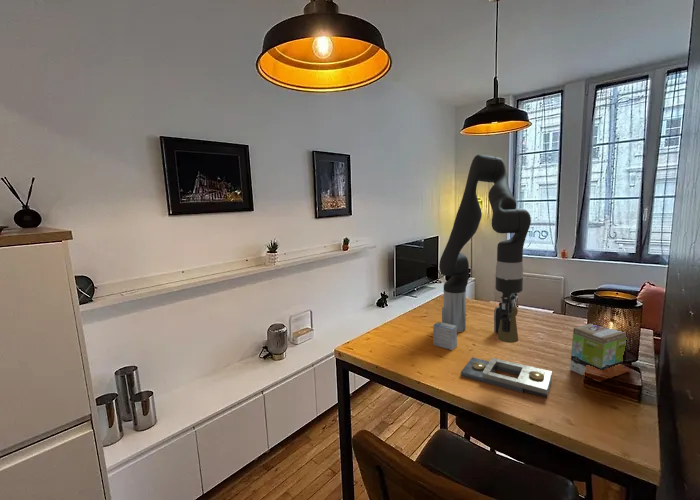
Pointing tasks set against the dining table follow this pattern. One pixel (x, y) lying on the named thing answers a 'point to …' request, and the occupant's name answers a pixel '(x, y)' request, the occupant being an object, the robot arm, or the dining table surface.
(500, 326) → the cork
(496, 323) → the battery charger
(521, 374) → the upper link plate
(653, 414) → the dining table surface
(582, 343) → the tea box
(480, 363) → the lower link plate
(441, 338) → the medicine box
